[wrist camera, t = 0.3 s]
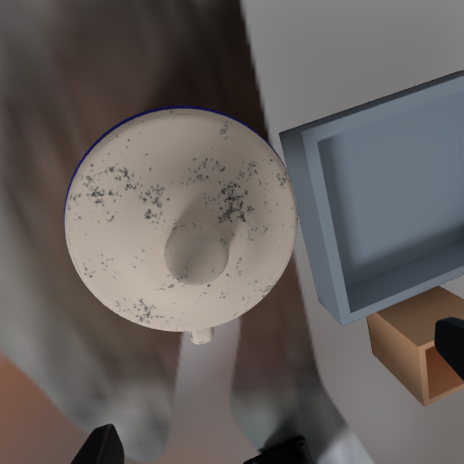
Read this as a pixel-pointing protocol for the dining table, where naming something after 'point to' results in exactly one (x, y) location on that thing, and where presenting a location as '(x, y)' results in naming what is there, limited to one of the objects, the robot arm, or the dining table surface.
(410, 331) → the small crate
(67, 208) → the teacup with lid
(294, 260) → the dining table surface
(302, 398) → the dining table surface
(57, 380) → the dining table surface
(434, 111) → the big crate
